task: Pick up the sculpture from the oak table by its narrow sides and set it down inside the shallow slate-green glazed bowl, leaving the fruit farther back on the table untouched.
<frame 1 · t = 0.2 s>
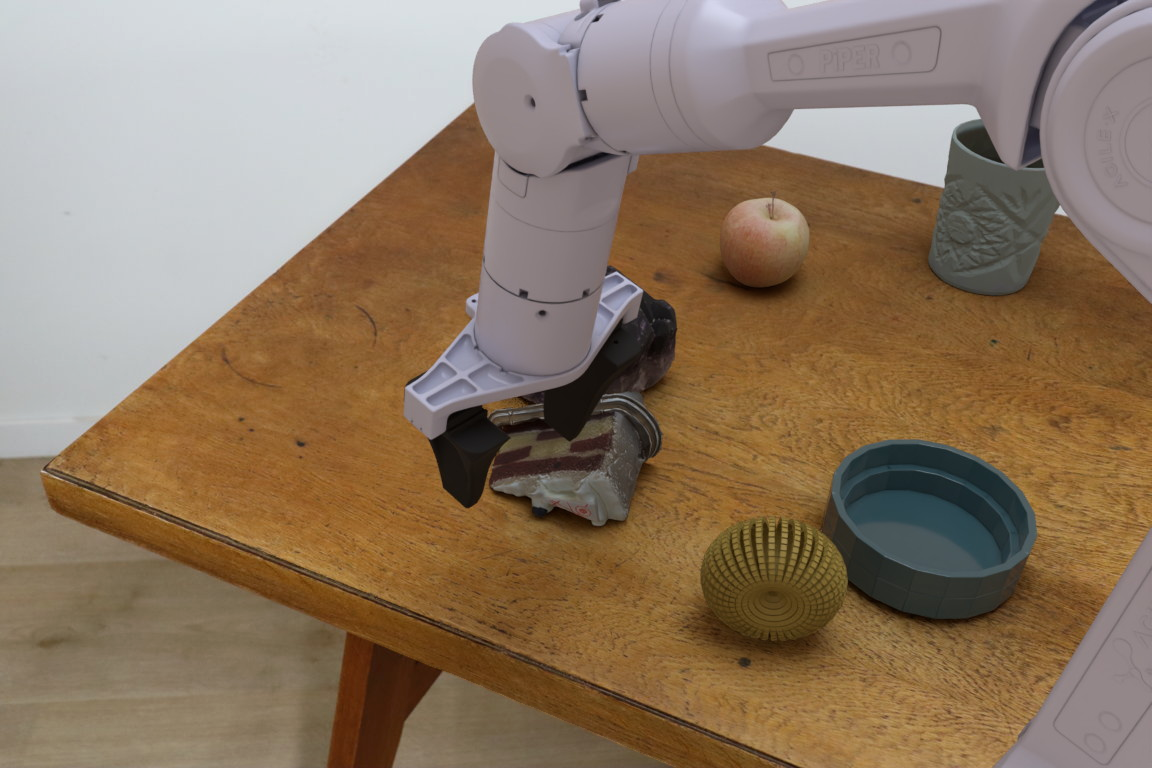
hand: (512, 460, 60), 9 cm above the table, tool pointing down, fingers open, 7 cm apart
fruit: (757, 280, 94), on the table
chocolate cake: (560, 489, 72), on the table
sculpture: (761, 629, 64), on the table
bowl: (917, 550, 69), on the table
green vase: (976, 270, 97), on the table
crystal cluster: (579, 370, 83), on the table
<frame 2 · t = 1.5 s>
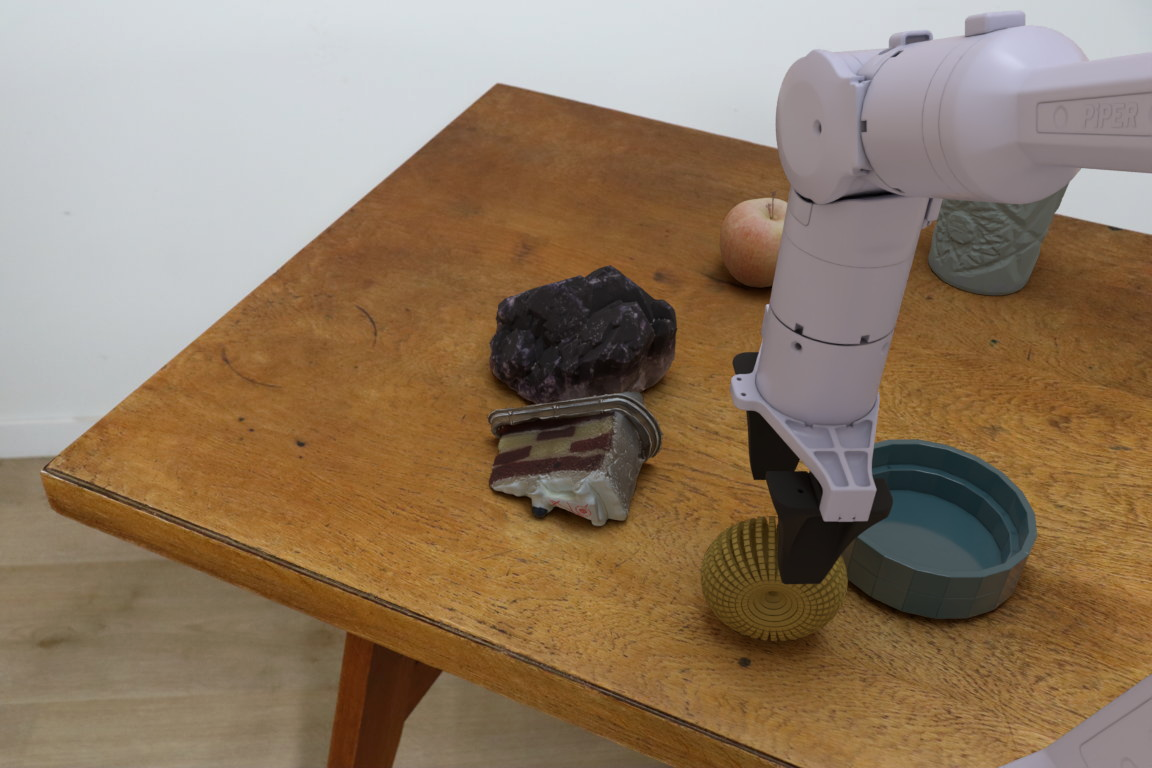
hand: (784, 524, 59), 8 cm above the table, tool pointing down, fingers open, 7 cm apart
nothing on the table moved.
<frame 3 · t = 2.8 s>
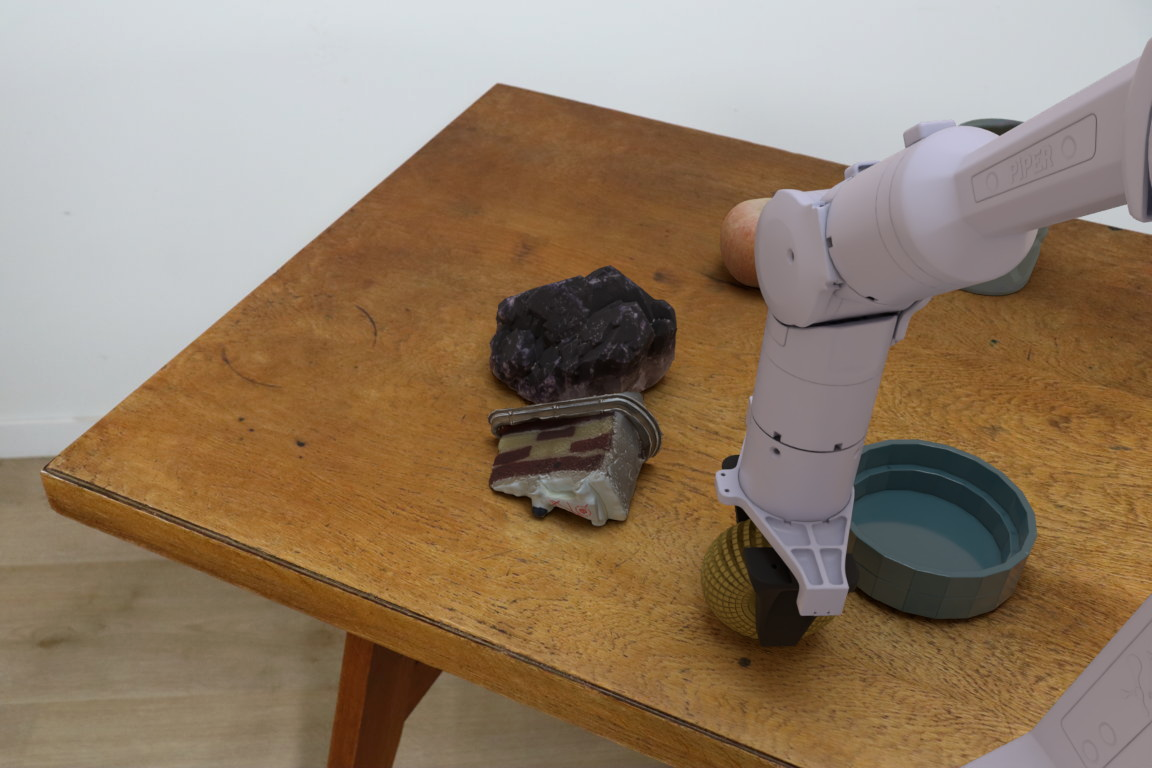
hand: (767, 603, 62), 2 cm above the table, tool pointing down, fingers closed on sculpture, 5 cm apart
sculpture: (761, 630, 64), on the table, touching gripper
everything else where it was.
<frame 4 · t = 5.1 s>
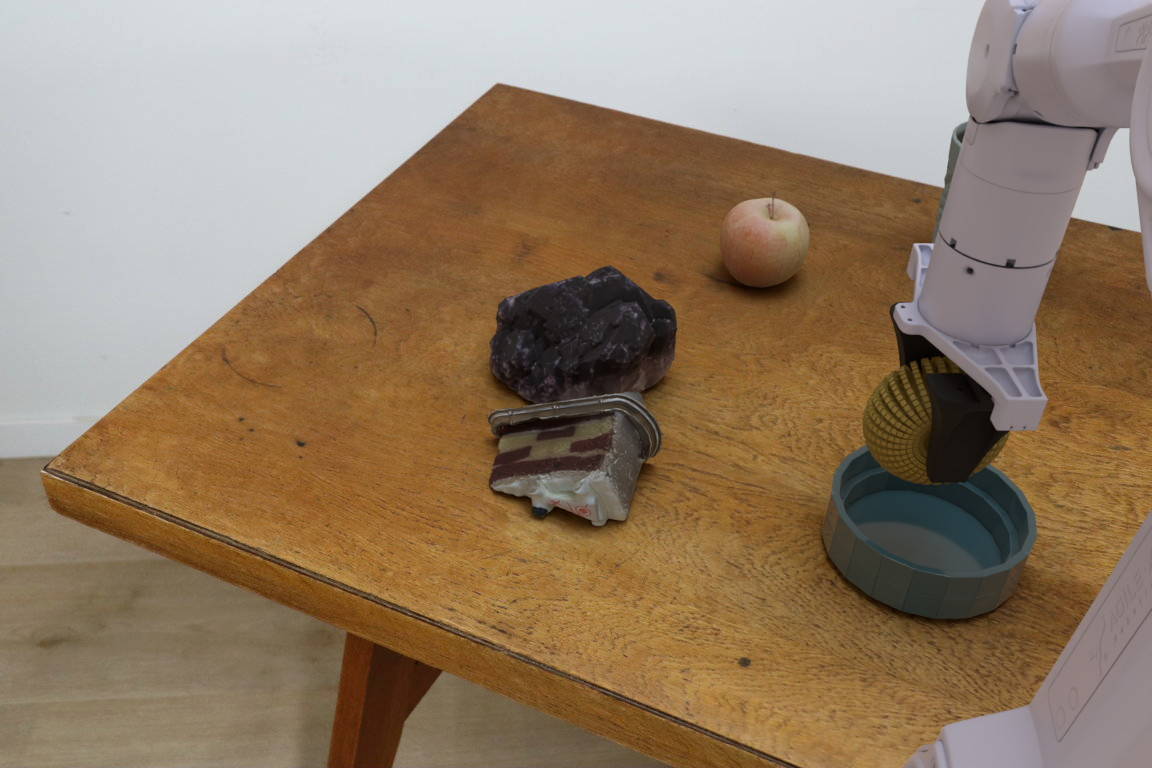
hand: (931, 448, 63), 9 cm above the table, tool pointing down, fingers closed on sculpture, 4 cm apart
sculpture: (918, 478, 64), point 7 cm above the table, touching gripper
everything else where it was.
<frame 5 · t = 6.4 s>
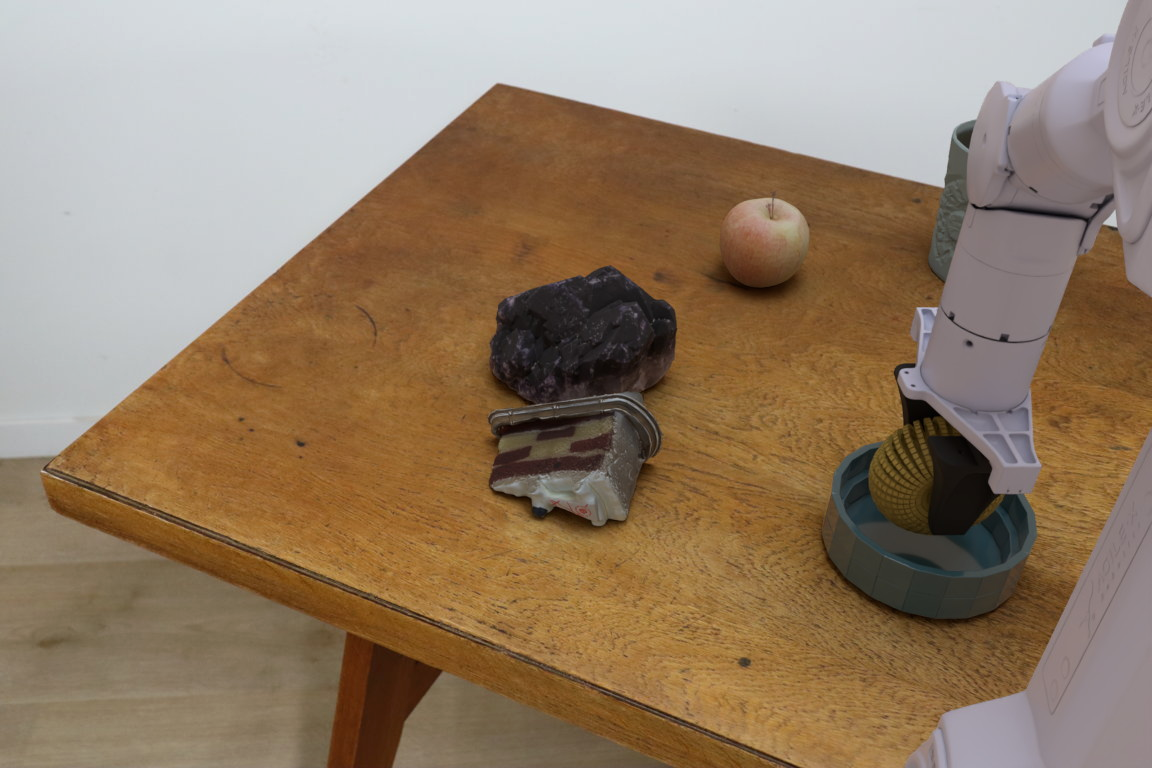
hand: (933, 501, 67), 4 cm above the table, tool pointing down, fingers closed on sculpture, 4 cm apart
sculpture: (921, 528, 68), point 2 cm above the table, touching gripper
everything else where it was.
when the fingers open (2 cm above the table, at t = 7.4 s): sculpture stays where it is, resting on bowl.
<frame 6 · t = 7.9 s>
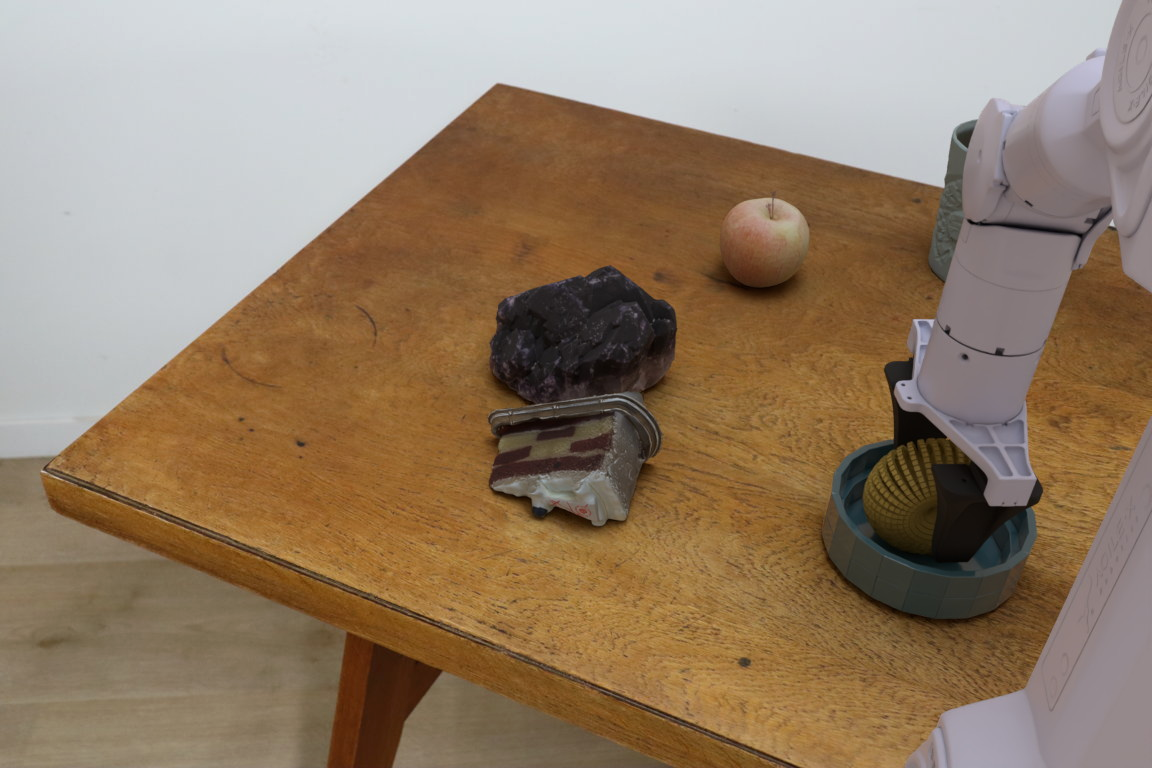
hand: (930, 512, 67), 3 cm above the table, tool pointing down, fingers open, 7 cm apart
sculpture: (915, 547, 69), resting on bowl
everything else where it was.
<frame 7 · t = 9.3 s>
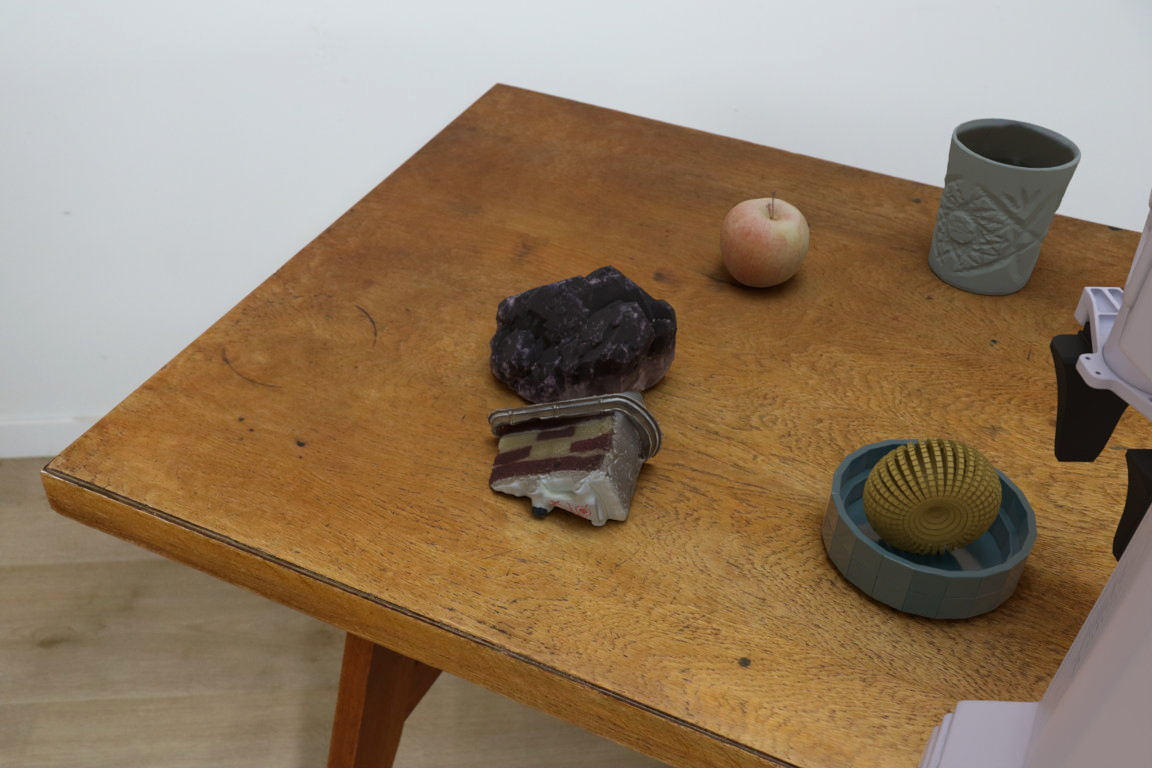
hand: (1102, 505, 59), 9 cm above the table, tool pointing down, fingers open, 7 cm apart
nothing on the table moved.
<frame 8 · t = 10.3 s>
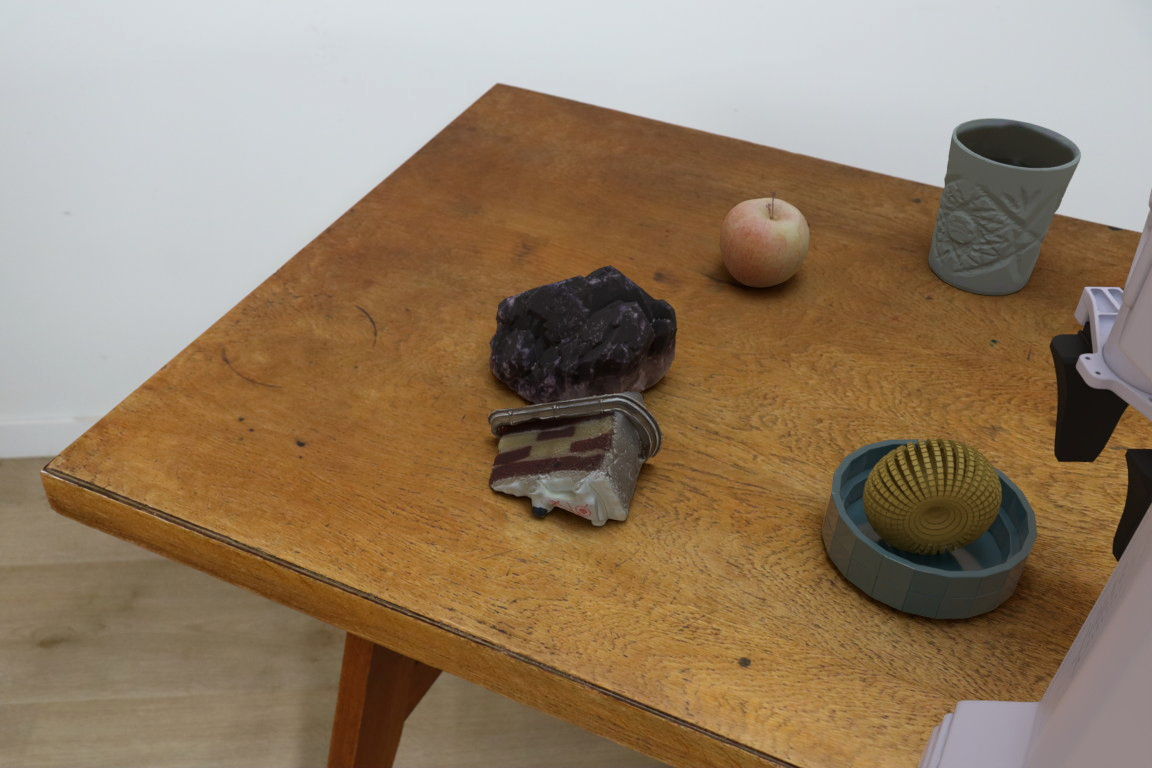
hand: (1102, 505, 59), 9 cm above the table, tool pointing down, fingers open, 7 cm apart
nothing on the table moved.
at the end: sculpture inside the target area in the bowl (0.2 cm from its centre), point 0.3 cm above the bowl's base; the gripper is holding nothing; fruit moved 0.2 cm from its start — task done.
